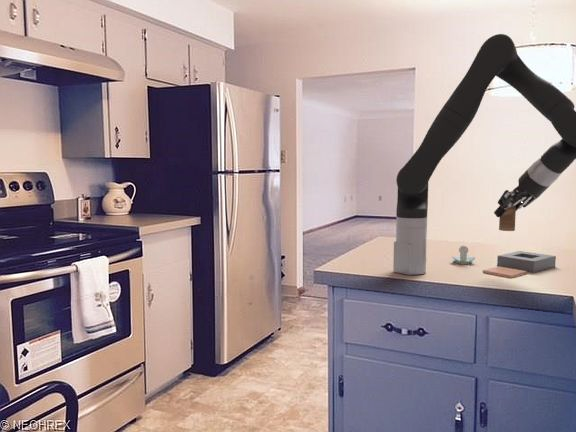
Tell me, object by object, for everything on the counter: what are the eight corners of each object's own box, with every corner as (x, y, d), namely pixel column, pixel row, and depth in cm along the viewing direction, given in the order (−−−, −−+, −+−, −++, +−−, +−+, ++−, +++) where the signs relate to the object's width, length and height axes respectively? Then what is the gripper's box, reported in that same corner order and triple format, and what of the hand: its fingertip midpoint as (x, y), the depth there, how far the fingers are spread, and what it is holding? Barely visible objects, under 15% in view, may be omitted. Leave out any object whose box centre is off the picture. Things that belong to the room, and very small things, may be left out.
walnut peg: (510, 231, 146) (511, 198, 145) (496, 229, 150) (497, 197, 149) (517, 230, 149) (519, 197, 148) (503, 228, 152) (505, 196, 151)
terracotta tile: (511, 278, 144) (511, 275, 144) (482, 272, 151) (482, 270, 151) (526, 273, 149) (526, 271, 149) (498, 268, 156) (498, 266, 156)
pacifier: (450, 261, 170) (452, 264, 164) (451, 243, 169) (453, 245, 164) (472, 262, 168) (475, 265, 162) (473, 244, 168) (476, 246, 162)
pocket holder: (533, 272, 151) (534, 261, 150) (497, 266, 160) (497, 255, 160) (555, 266, 159) (555, 256, 159) (519, 260, 169) (519, 250, 168)
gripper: (547, 166, 144) (510, 204, 156) (515, 166, 137) (478, 206, 149) (564, 185, 140) (524, 222, 152) (531, 186, 133) (492, 225, 145)
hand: (502, 214), depth 150 cm, fingers closed on walnut peg, 4 cm apart
